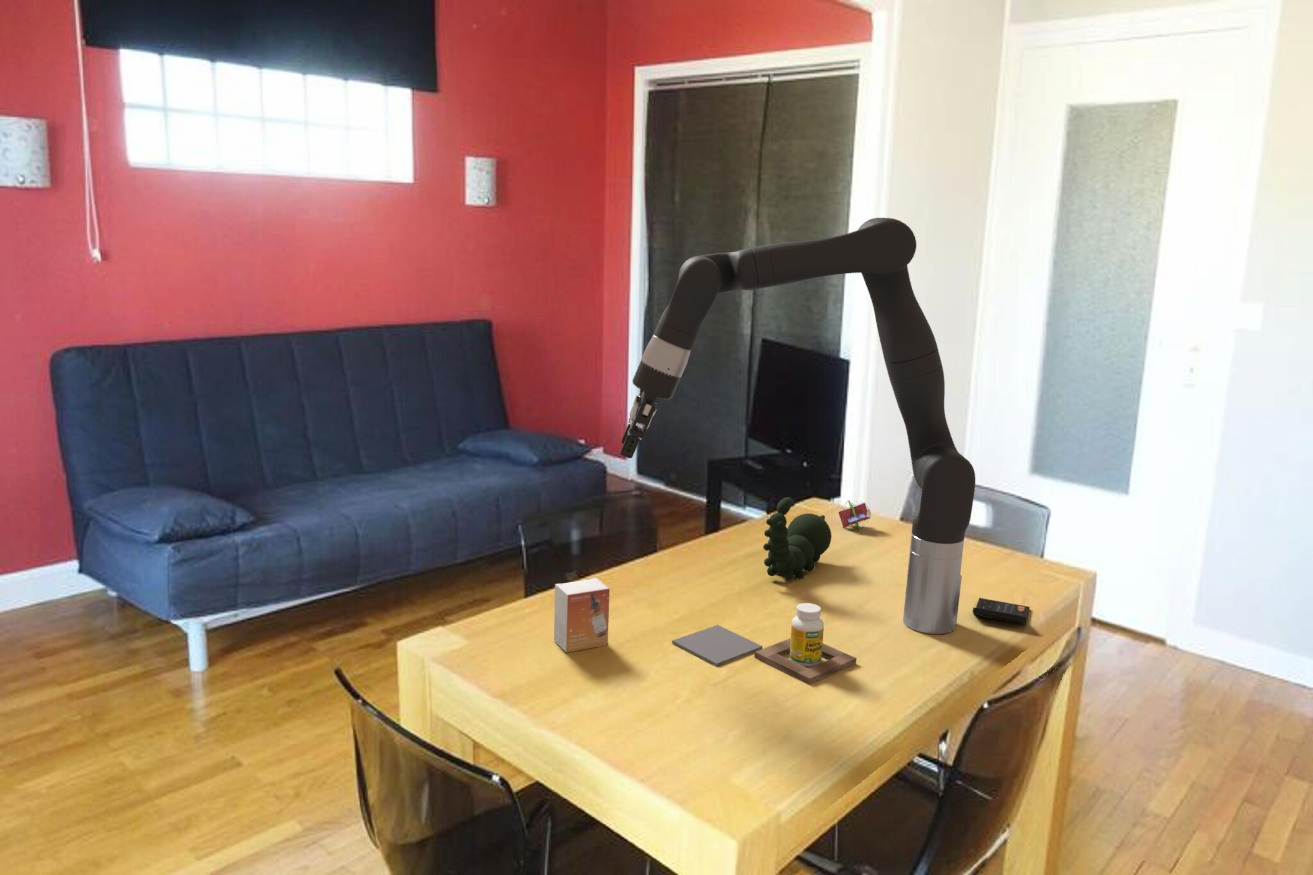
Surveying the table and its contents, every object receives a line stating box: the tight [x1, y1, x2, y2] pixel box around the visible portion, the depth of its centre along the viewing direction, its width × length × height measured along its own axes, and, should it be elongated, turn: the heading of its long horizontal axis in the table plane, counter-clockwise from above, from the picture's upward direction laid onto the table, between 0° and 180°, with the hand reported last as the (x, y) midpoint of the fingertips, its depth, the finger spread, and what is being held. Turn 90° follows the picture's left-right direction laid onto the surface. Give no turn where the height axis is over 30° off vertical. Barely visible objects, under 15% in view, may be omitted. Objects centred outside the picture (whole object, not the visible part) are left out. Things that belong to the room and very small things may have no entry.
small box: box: [553, 577, 611, 653], centre depth 169 cm, size 8×6×10 cm
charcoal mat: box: [671, 624, 763, 667], centre depth 171 cm, size 11×11×1 cm
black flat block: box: [972, 597, 1031, 625], centre depth 188 cm, size 9×12×3 cm
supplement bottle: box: [789, 602, 825, 668], centre depth 166 cm, size 5×5×10 cm
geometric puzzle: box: [837, 500, 872, 531], centre depth 236 cm, size 7×7×8 cm
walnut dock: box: [754, 637, 857, 685], centre depth 167 cm, size 12×12×1 cm
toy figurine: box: [762, 496, 832, 581], centre depth 206 cm, size 9×19×25 cm
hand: (625, 450), depth 174 cm, fingers open, 8 cm apart
